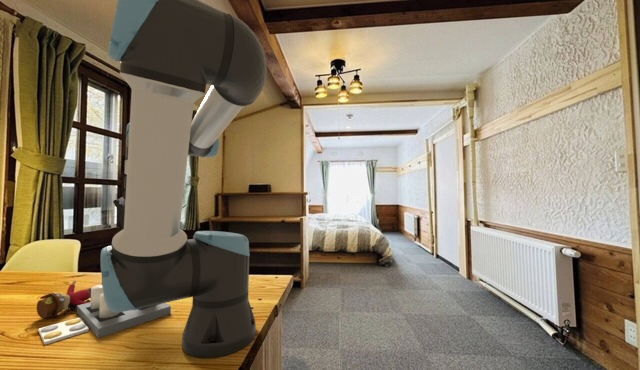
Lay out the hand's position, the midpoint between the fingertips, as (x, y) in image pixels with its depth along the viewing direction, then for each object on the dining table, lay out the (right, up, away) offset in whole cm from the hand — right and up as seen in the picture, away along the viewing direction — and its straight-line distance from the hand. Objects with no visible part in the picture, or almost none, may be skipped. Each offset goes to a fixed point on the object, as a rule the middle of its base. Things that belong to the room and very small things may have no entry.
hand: (137, 257), depth 75 cm
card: (-6, -13, -15) cm, 21 cm away
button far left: (-5, -11, -7) cm, 14 cm away
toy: (-15, -14, -3) cm, 21 cm away
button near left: (+1, -11, -11) cm, 16 cm away
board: (0, -13, -6) cm, 15 cm away
